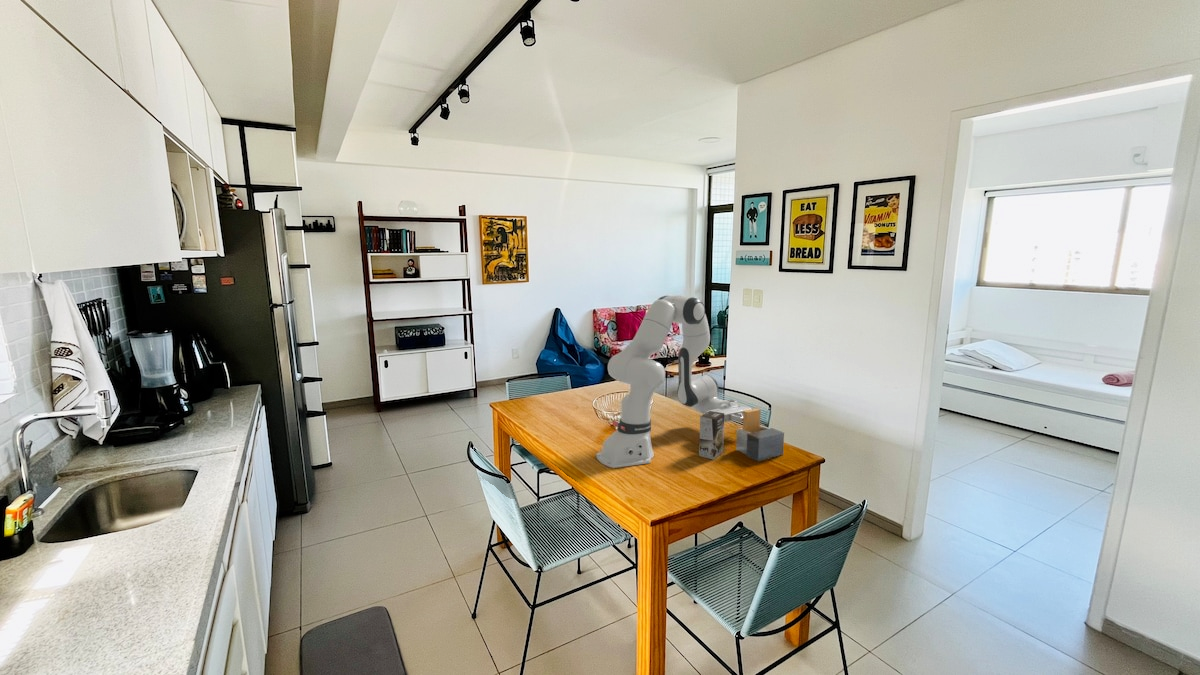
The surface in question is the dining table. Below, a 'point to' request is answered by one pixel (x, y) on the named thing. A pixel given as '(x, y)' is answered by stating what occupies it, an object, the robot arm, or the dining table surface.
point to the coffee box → (711, 434)
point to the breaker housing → (760, 443)
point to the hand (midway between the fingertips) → (743, 419)
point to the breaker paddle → (751, 420)
